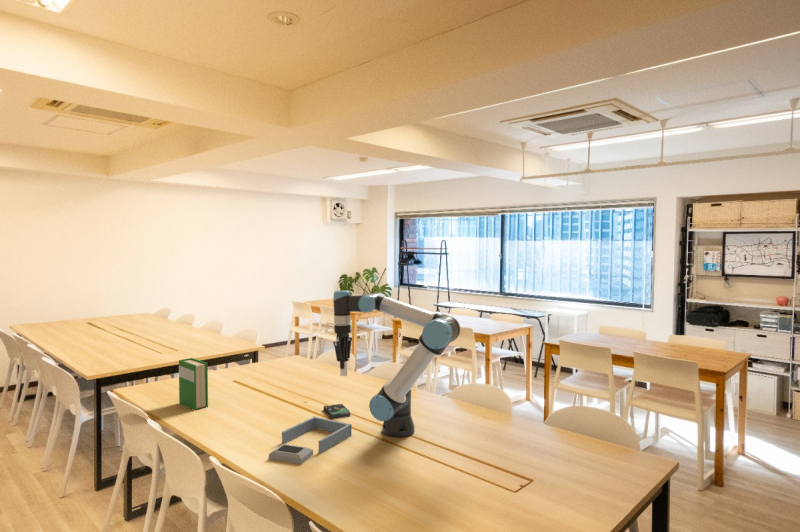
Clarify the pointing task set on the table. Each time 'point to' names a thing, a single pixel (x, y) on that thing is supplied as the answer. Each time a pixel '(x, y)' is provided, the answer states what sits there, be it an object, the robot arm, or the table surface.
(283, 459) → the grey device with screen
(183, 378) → the hardback book
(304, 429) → the open u-shaped frame
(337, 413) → the disk drive
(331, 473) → the table surface
